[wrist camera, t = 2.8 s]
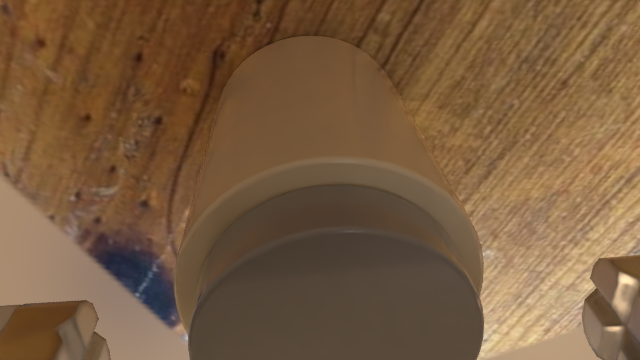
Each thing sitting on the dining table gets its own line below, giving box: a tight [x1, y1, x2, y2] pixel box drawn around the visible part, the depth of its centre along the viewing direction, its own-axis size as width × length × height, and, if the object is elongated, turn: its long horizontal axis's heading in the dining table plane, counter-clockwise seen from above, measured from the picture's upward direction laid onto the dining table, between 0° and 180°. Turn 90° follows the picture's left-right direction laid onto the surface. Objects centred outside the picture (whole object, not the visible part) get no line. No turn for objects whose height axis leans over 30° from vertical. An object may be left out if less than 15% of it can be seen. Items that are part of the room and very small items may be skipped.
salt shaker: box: [174, 36, 484, 360], centre depth 11 cm, size 5×5×8 cm
